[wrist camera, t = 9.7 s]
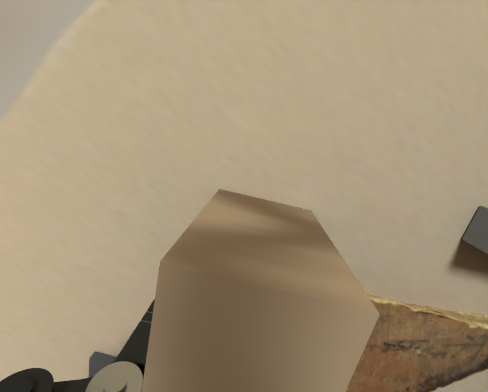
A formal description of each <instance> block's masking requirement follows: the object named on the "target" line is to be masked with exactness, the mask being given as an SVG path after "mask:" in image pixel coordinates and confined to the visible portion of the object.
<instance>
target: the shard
mask: <svg viewBox="0 0 488 392" xmlns="http://www.w3.org/2000/svg"><path fill="white" fill-rule="evenodd" d="M367 296H368V297H369V299H370V300H371V302H372V303H373V305H374V306H375V308H376V309H377V311H378V312H379V314H380V315H379V317H378V319H377V322H376V324H375V326H374V328H373V331H372V333H371V335H370V337H369V340H368V342H367V344H366V346H365V349H364V351H363V353H362V355H361V358H360V360H359V362H358V364H357V367H356V369H355V371H354V373H353V376H352V378H351V380H350V382H349V385H348V387H347V389H346V391H345V392H432V391H434V390H436V389H438V388H442V387H445V386H447V385H449V384H452V383H454V382H457V381H460V380H463V379H465V378H467V377H469V376H471V375H474V374H476V373H479V372H482V371H484V370H486V369H488V315H482V314H474V313H461V312H457V311H447V310H442V309H436V308H432V307H428V306H419V305H416V304H404V303H400V302H396V301H391V300H389V299H385V298H381V297H376V296H372V295H370V294H367Z"/></svg>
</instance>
